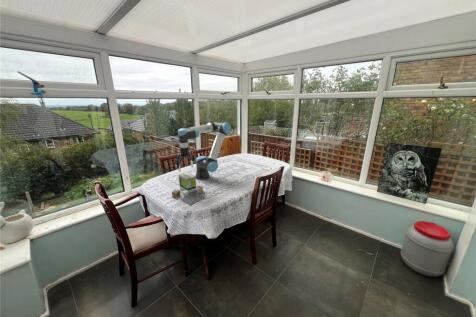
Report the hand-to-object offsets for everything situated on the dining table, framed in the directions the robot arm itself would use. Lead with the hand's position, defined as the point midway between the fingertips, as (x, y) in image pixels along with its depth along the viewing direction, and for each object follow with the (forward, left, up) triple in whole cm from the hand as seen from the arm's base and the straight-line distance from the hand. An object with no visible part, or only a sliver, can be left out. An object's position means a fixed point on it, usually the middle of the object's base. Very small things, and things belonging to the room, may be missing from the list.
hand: (186, 169), depth 170 cm
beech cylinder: (-4, +13, -21) cm, 25 cm away
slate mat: (+7, +17, -21) cm, 28 cm away
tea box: (0, 0, -21) cm, 21 cm away
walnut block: (+14, +2, -21) cm, 25 cm away
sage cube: (+8, +8, -21) cm, 24 cm away
